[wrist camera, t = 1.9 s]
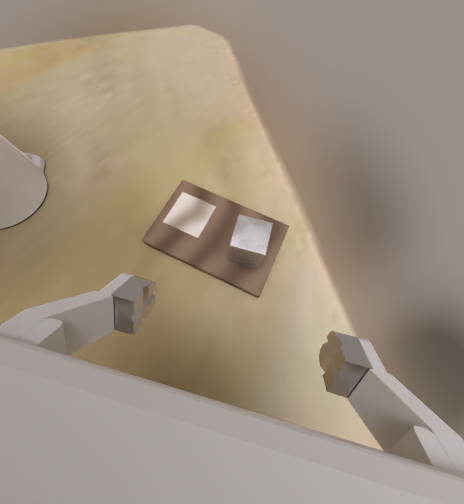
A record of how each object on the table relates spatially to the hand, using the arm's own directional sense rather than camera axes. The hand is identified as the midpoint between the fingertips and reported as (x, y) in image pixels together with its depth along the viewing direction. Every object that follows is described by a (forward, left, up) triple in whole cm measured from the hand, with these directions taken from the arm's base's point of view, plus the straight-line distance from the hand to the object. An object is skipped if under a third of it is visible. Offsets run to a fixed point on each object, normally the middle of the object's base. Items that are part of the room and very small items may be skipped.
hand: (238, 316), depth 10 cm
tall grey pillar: (-2, +12, -25) cm, 27 cm away
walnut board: (-8, +13, -26) cm, 30 cm away
